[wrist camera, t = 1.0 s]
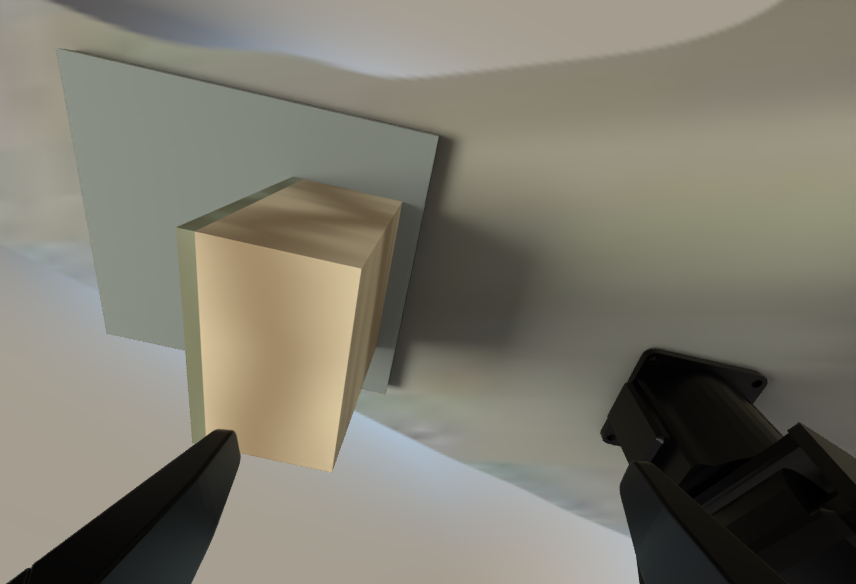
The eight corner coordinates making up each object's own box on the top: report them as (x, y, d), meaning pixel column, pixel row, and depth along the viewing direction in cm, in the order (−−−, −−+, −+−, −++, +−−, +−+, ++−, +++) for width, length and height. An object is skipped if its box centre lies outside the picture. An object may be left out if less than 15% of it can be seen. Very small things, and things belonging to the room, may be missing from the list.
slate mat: (439, 134, 17) (438, 136, 16) (387, 385, 23) (385, 394, 23) (73, 50, 17) (55, 48, 16) (117, 326, 23) (106, 333, 22)
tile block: (402, 201, 18) (361, 268, 11) (376, 347, 21) (331, 472, 14) (292, 176, 18) (176, 227, 10) (284, 327, 21) (192, 443, 14)
